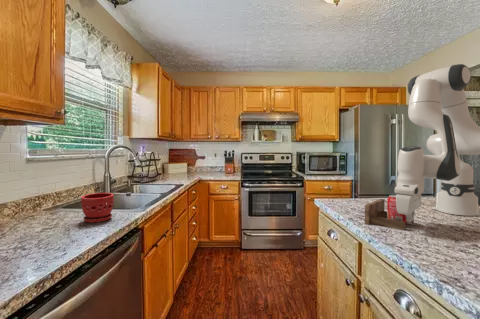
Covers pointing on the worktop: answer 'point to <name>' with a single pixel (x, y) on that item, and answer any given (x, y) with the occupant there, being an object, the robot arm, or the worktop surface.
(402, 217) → the soda can
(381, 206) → the bay
